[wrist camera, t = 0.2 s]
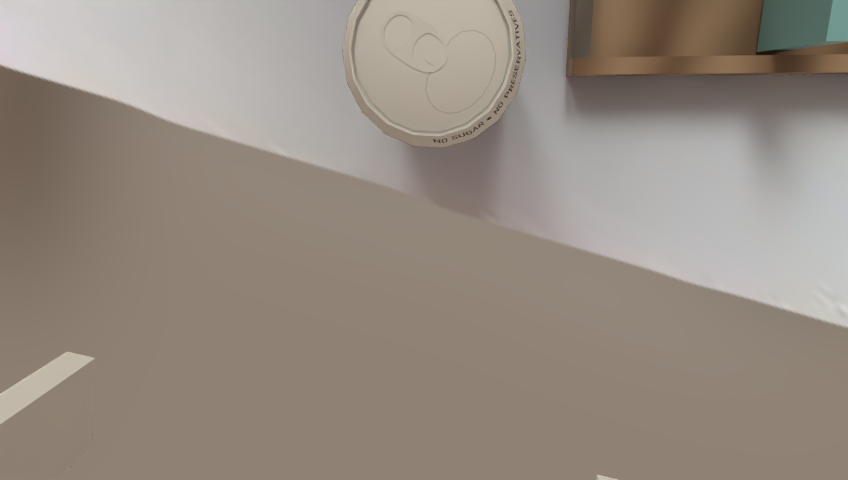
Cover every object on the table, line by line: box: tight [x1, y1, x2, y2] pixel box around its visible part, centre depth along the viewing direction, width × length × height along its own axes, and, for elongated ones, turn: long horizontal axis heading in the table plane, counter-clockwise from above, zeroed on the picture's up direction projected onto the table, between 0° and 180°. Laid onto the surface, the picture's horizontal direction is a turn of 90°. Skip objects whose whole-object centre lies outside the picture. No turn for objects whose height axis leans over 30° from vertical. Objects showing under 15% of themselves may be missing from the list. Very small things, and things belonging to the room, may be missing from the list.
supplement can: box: [342, 0, 526, 148], centre depth 30 cm, size 8×8×15 cm
